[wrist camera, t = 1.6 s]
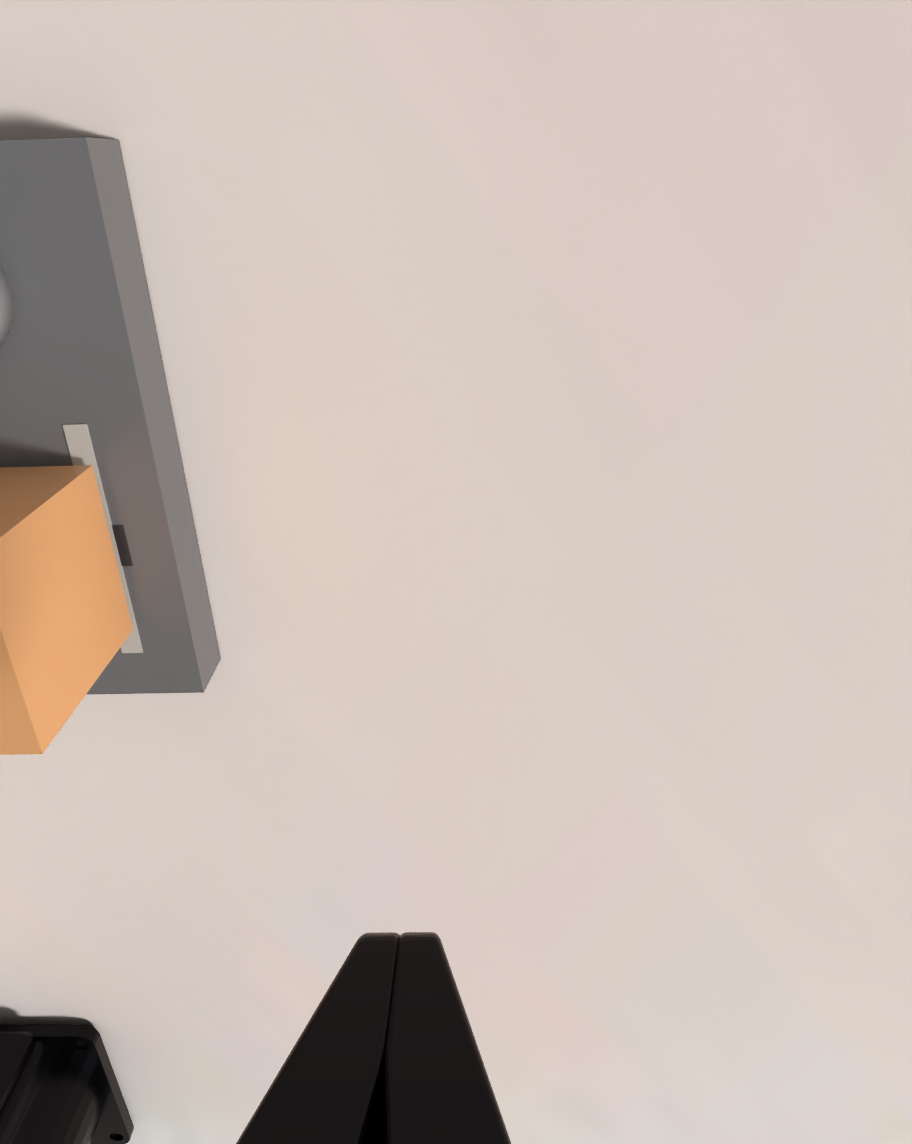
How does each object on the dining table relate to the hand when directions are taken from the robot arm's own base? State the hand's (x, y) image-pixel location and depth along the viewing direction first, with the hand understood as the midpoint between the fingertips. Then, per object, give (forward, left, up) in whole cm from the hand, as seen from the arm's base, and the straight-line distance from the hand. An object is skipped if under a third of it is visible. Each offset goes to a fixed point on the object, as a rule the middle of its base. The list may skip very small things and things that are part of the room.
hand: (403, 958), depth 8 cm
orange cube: (0, +9, -10) cm, 14 cm away
